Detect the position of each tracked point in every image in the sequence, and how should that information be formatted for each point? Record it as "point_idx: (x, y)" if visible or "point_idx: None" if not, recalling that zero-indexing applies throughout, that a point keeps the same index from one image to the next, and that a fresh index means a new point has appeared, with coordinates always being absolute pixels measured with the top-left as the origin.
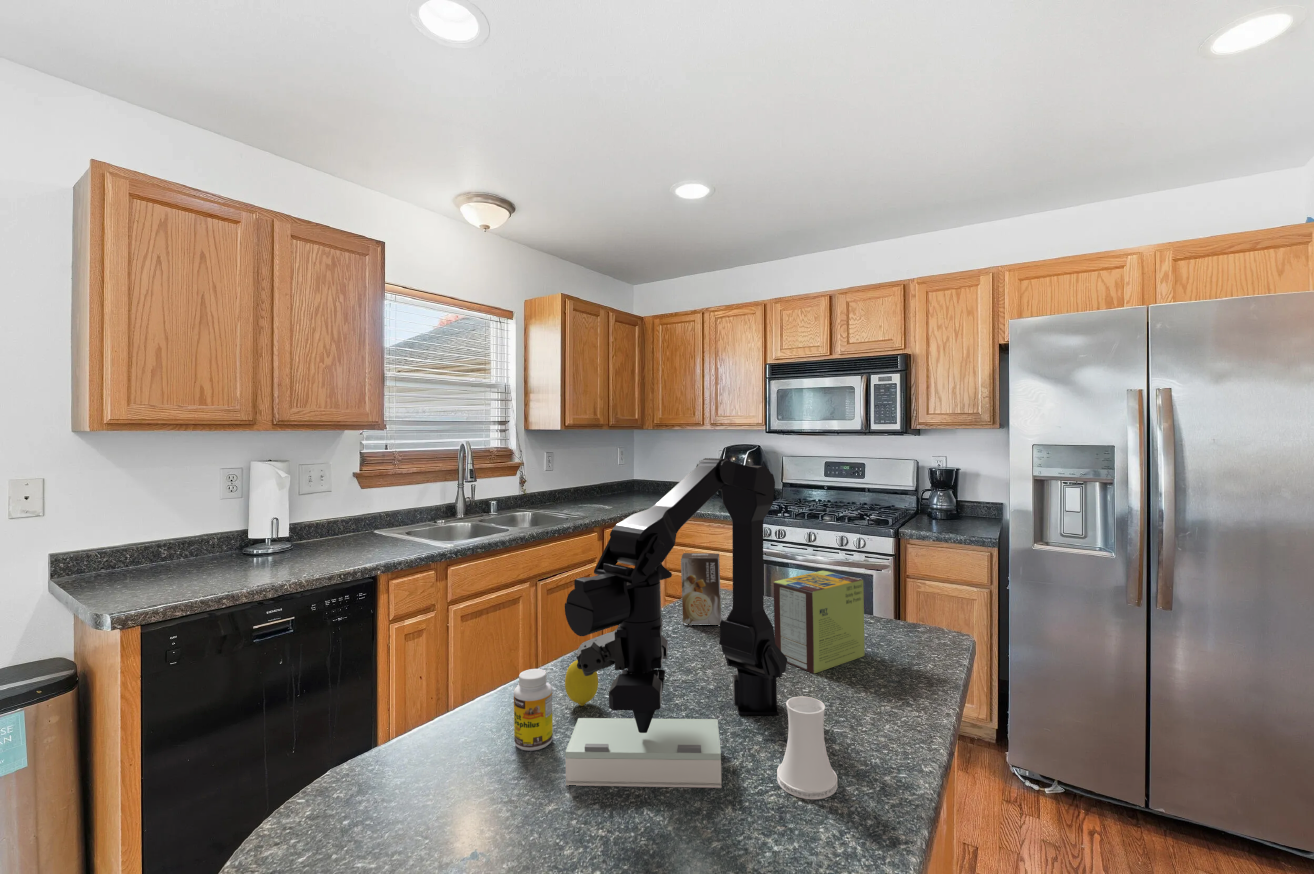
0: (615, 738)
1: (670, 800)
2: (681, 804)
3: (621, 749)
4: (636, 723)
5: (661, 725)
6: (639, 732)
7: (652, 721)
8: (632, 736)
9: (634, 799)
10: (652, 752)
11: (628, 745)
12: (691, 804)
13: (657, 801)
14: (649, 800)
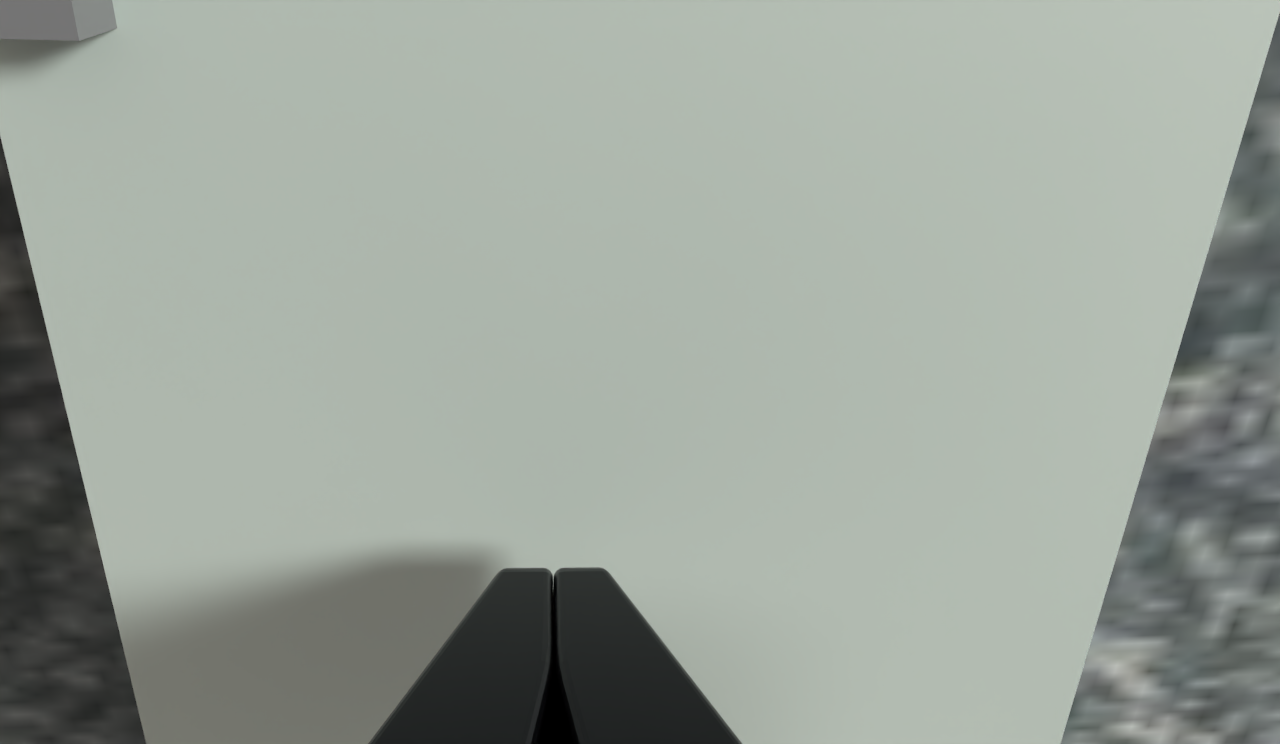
0: (498, 125)
1: (73, 597)
2: (38, 675)
3: (140, 268)
4: (426, 666)
5: (877, 734)
6: (501, 571)
7: (1011, 626)
8: (582, 401)
9: (2, 293)
10: (142, 693)
11: (284, 369)
12: (58, 738)
13: (28, 499)
14: (25, 432)
